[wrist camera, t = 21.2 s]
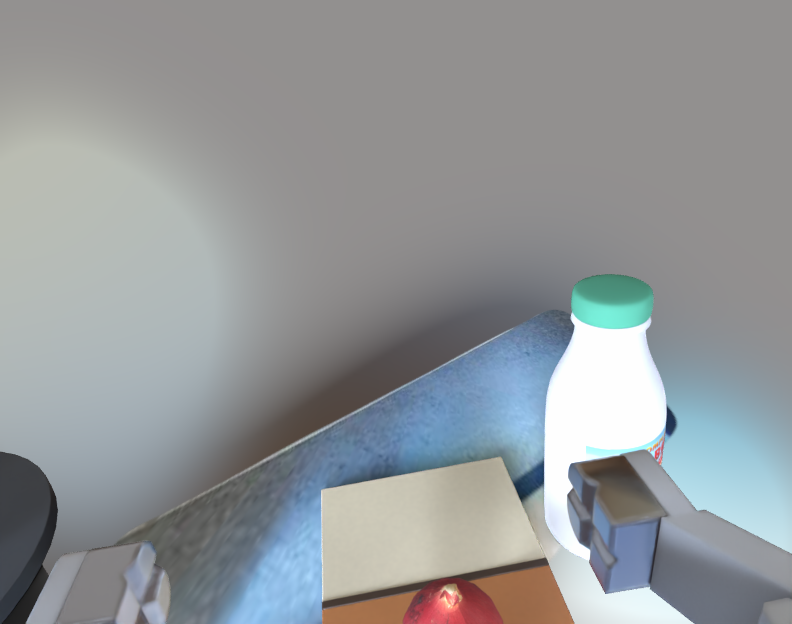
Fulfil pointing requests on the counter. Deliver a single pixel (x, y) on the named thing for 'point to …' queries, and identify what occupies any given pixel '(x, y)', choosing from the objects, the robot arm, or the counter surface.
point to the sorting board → (433, 545)
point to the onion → (451, 604)
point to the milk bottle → (601, 391)
